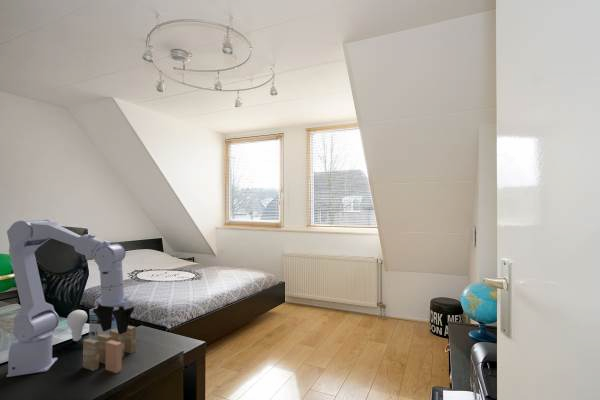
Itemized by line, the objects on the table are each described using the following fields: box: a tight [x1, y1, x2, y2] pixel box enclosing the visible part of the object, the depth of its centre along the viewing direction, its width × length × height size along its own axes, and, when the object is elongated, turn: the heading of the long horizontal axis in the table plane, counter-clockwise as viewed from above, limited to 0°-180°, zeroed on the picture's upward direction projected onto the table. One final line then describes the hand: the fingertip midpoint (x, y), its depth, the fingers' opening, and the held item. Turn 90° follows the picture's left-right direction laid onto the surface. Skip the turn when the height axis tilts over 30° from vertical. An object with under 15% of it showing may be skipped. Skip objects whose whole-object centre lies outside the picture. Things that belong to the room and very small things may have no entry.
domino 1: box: [82, 337, 100, 371], centre depth 92 cm, size 2×5×8 cm, turn 65°
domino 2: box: [97, 334, 112, 365], centre depth 96 cm, size 2×5×8 cm, turn 65°
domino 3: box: [109, 329, 125, 358], centre depth 100 cm, size 2×5×8 cm, turn 65°
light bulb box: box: [88, 306, 119, 340], centre depth 117 cm, size 11×7×11 cm, turn 168°
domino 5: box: [124, 324, 137, 354], centre depth 103 cm, size 2×5×8 cm, turn 64°
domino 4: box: [104, 340, 123, 374], centre depth 91 cm, size 2×5×8 cm, turn 64°
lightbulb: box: [66, 309, 88, 342], centre depth 111 cm, size 6×6×11 cm
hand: (114, 331), depth 92 cm, fingers open, 7 cm apart
